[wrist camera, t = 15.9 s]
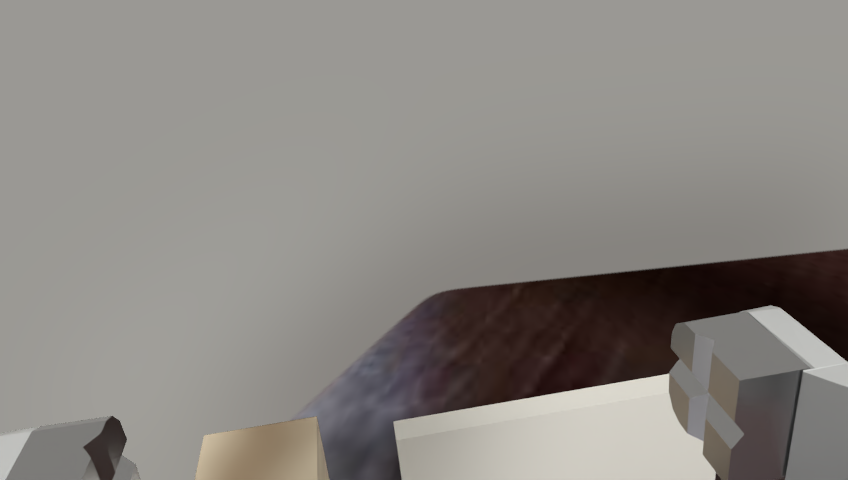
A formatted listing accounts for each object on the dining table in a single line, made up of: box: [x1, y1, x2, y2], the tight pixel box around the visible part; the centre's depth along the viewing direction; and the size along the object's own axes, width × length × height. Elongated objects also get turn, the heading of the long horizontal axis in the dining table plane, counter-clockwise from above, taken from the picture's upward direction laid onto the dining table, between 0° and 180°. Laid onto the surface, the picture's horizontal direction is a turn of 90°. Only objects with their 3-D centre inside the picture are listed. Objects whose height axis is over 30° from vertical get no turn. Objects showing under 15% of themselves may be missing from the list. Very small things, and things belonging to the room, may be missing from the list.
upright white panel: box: [393, 374, 716, 480], centre depth 40 cm, size 18×2×10 cm, turn 99°
